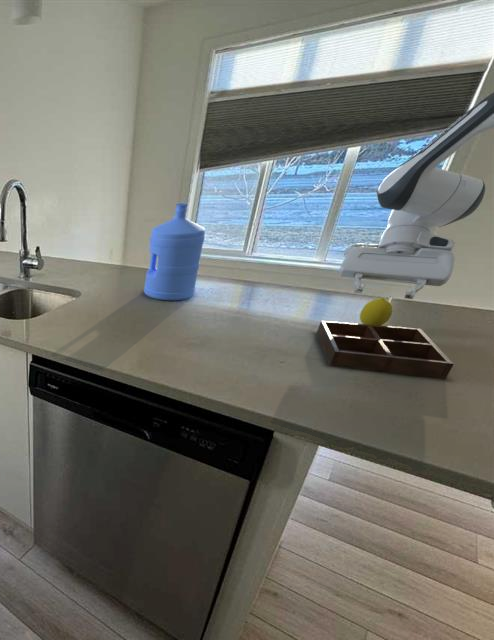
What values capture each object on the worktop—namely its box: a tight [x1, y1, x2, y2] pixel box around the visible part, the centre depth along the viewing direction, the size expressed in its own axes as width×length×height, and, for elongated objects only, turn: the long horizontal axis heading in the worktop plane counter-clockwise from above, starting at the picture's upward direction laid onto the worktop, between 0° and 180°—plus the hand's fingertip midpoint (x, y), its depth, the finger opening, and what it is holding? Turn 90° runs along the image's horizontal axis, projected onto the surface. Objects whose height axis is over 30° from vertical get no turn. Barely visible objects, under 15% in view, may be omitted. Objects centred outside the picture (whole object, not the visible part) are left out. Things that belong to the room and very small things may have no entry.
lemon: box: [359, 297, 393, 326], centre depth 100 cm, size 6×6×8 cm
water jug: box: [143, 202, 206, 302], centre depth 129 cm, size 16×16×28 cm
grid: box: [315, 320, 455, 380], centre depth 90 cm, size 18×18×4 cm
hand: (382, 294), depth 101 cm, fingers open, 8 cm apart
